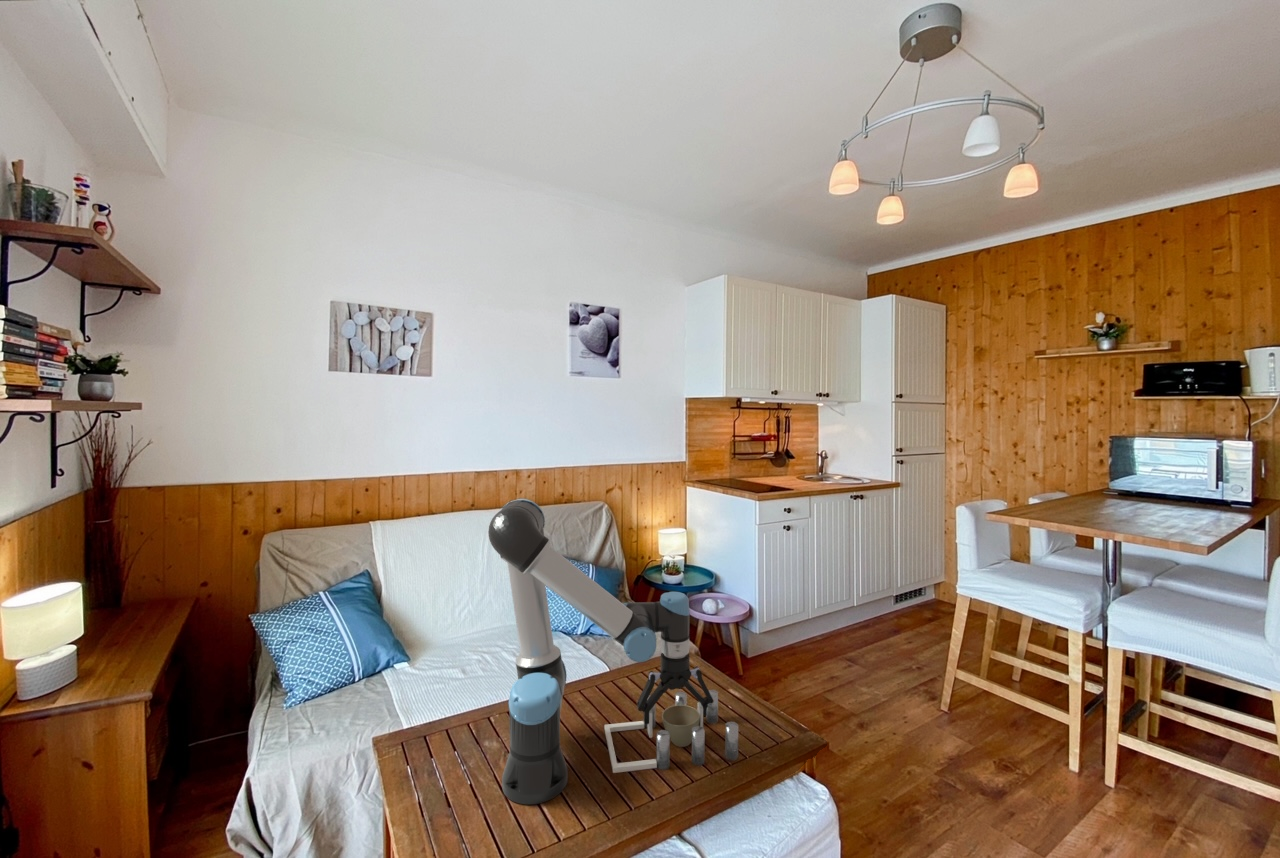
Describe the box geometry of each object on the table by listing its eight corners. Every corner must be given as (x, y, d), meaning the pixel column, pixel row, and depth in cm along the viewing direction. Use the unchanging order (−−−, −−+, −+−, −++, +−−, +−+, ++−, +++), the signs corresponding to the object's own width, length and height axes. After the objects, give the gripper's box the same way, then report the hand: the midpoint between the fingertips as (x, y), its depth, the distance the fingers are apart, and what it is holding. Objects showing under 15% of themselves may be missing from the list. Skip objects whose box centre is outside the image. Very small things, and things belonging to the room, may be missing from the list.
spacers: (657, 770, 132) (658, 738, 132) (642, 722, 152) (642, 695, 151) (740, 760, 136) (740, 729, 135) (715, 715, 156) (715, 688, 155)
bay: (613, 772, 131) (613, 768, 131) (604, 729, 149) (604, 724, 149) (656, 767, 133) (656, 763, 133) (643, 725, 151) (643, 720, 151)
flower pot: (708, 739, 144) (707, 713, 143) (684, 758, 136) (683, 730, 136) (679, 725, 150) (678, 700, 150) (655, 742, 143) (654, 716, 143)
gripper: (630, 663, 136) (631, 745, 137) (725, 655, 141) (725, 734, 141) (625, 650, 144) (626, 728, 144) (716, 642, 148) (716, 718, 149)
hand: (675, 731), depth 143 cm, fingers open, 13 cm apart
